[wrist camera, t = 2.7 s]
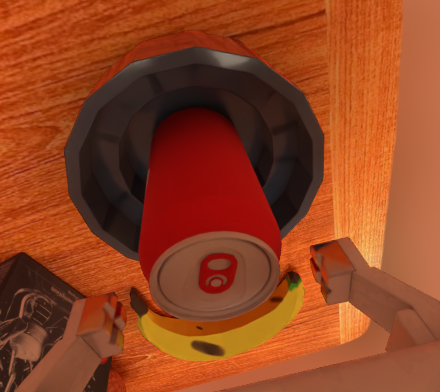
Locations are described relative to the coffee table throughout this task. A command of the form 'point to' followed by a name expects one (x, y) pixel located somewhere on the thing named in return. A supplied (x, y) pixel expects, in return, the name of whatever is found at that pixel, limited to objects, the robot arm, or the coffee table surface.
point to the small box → (35, 321)
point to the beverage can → (206, 221)
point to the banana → (221, 326)
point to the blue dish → (178, 100)
